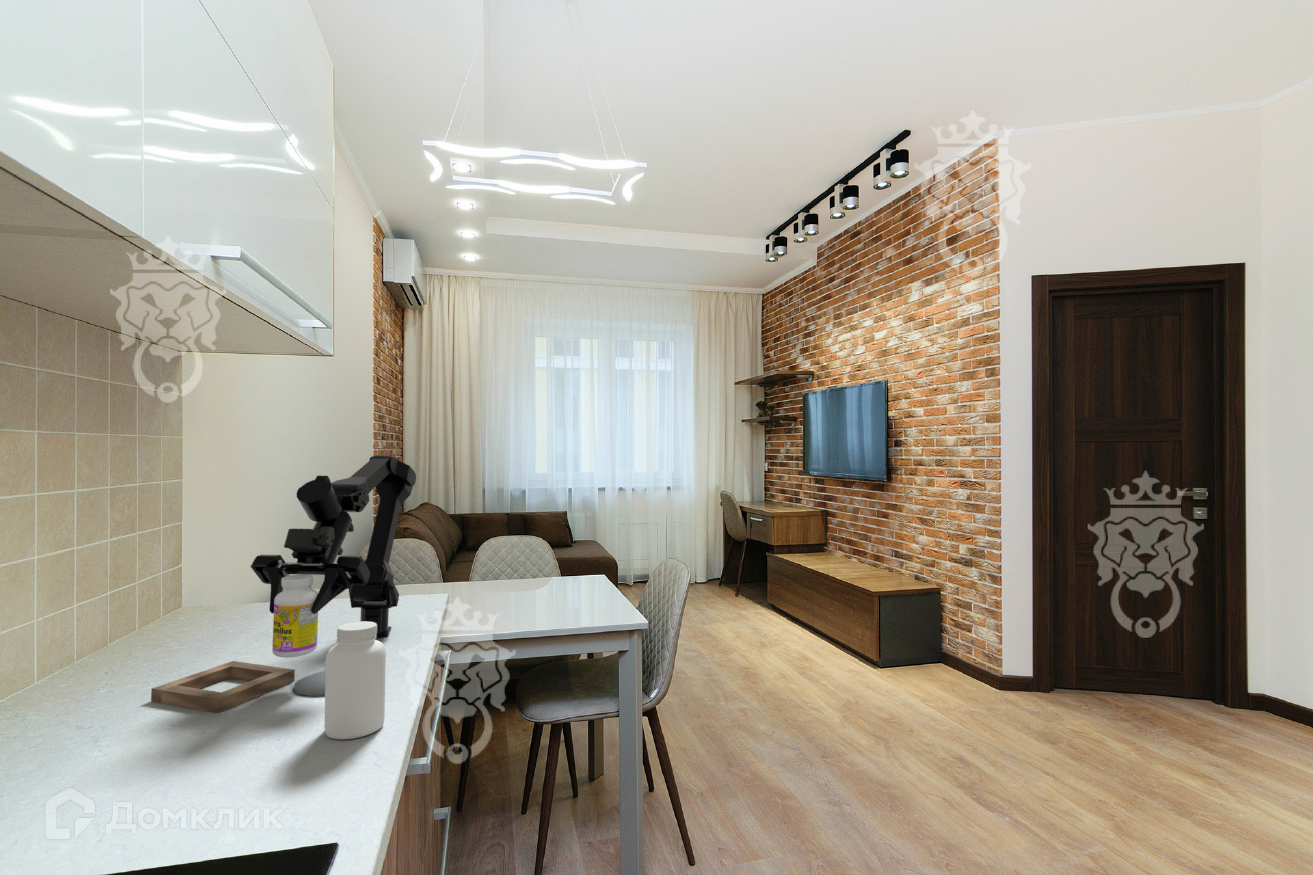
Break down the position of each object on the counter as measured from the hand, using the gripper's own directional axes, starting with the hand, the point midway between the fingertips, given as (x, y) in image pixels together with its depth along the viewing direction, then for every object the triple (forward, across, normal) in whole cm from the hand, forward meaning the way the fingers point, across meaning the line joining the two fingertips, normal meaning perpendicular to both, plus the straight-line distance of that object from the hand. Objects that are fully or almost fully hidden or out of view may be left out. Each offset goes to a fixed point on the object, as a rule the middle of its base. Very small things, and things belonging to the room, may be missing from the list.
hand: (292, 612), depth 104 cm
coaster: (+7, +5, +11) cm, 14 cm away
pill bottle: (+19, +17, -1) cm, 26 cm away
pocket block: (+10, -10, +9) cm, 17 cm away
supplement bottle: (+4, 0, +6) cm, 7 cm away
